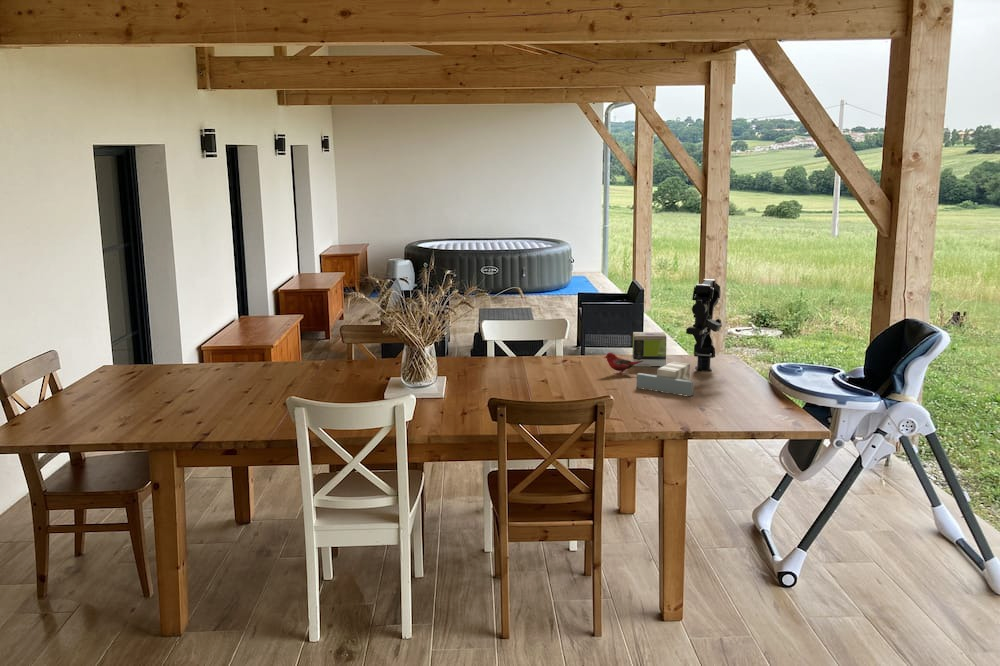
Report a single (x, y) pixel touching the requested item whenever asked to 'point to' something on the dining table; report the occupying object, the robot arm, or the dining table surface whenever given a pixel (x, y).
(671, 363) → the block
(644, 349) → the tea box
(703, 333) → the robot arm
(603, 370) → the dining table surface
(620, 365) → the decorative bird figurine
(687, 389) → the board
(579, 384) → the dining table surface
